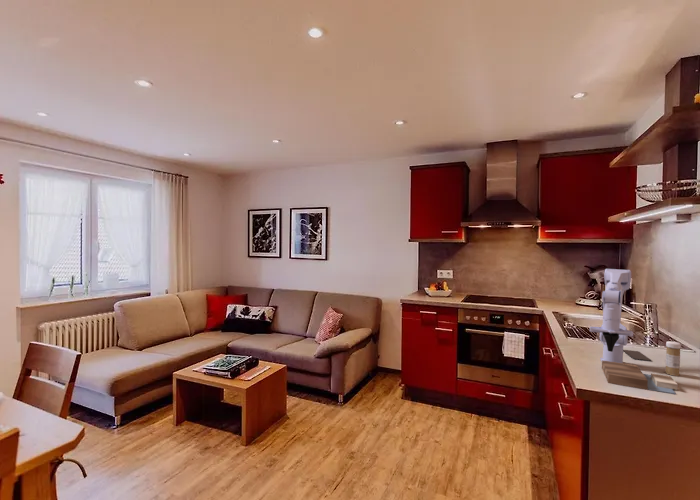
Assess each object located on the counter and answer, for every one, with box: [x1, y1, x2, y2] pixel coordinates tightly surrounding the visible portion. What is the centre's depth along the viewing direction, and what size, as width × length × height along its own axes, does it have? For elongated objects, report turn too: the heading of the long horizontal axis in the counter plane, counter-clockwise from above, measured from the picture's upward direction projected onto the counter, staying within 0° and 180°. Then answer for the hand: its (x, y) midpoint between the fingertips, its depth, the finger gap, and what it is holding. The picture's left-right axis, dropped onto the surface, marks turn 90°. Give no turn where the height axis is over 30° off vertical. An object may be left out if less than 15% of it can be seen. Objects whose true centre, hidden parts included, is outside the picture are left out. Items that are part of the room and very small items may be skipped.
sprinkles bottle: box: [664, 340, 682, 377], centre depth 147 cm, size 5×5×13 cm
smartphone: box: [623, 349, 653, 363], centre depth 171 cm, size 7×1×15 cm
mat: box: [643, 373, 677, 395], centre depth 138 cm, size 18×8×1 cm, turn 151°
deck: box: [601, 360, 648, 390], centre depth 143 cm, size 18×12×4 cm, turn 151°
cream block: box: [650, 373, 679, 390], centre depth 136 cm, size 9×6×2 cm, turn 150°
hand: (610, 350), depth 148 cm, fingers closed
